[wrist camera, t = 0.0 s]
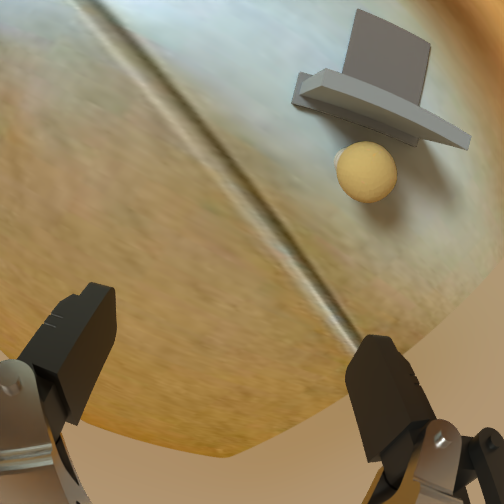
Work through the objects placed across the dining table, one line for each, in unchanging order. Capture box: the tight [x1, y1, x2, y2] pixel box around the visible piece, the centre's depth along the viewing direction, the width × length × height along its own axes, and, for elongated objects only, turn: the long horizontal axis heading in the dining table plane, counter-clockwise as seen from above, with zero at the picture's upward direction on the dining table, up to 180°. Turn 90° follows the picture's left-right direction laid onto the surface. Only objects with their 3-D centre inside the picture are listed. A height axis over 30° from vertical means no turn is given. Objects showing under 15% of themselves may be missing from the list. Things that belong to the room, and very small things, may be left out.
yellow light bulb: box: [334, 141, 397, 203], centre depth 30 cm, size 6×6×10 cm
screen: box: [291, 68, 471, 150], centre depth 27 cm, size 4×17×12 cm, turn 77°
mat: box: [342, 9, 430, 106], centre depth 29 cm, size 11×11×1 cm
